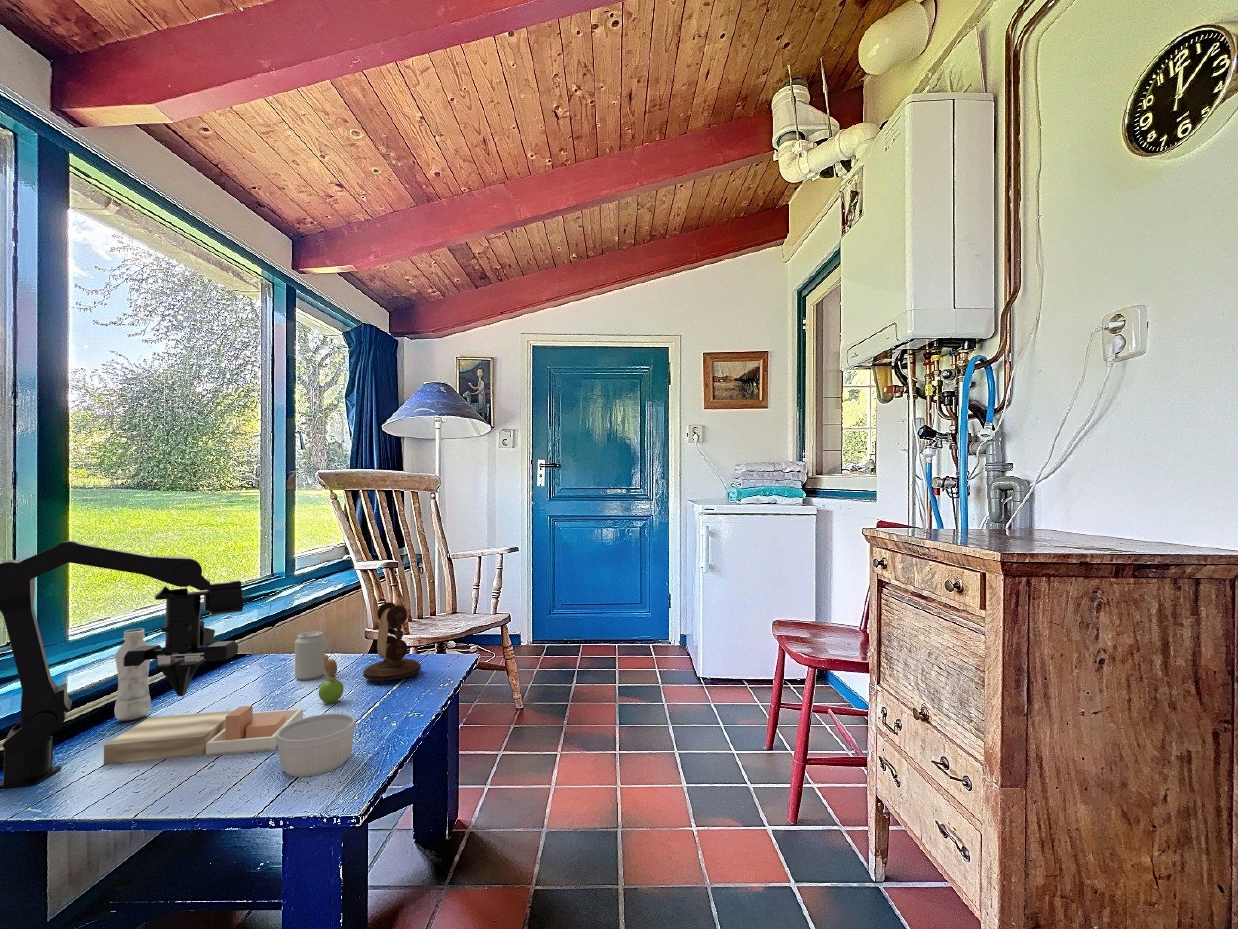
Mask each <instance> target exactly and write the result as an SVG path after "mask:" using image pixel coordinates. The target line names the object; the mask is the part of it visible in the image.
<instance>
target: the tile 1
mask: <svg viewBox="0 0 1238 929" xmlns="http://www.w3.org/2000/svg"><path fill="white" fill-rule="evenodd" d="M253 707H254V705H243V706H241V705H240V706H239V707H237V708H235V709H234V710H232V711H233V712H231V713H230V714H228V715H227V716H226V735H225V740H236V739H245V738H246V727H247V726H248V725H249V724H251V723H252V712H254V711H253Z"/></svg>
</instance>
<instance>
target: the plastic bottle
mask: <svg viewBox="0 0 1238 929" xmlns="http://www.w3.org/2000/svg"><path fill="white" fill-rule="evenodd" d="M145 637H146V635H145V628H133V629H128V630H125V631H123V637H122V640H123V641H124V642H123V644H122V645H121V646H120V647H119V648H118V650H117V651H116V653H115V656H114V657H115V664H116V671H117V684H118V686H117V694H116V700H115V703H114V704H115V705H114V710H113V711H114V717H115V718H116V719H117V721H120V722H121V721H122V722H123V721H125V722H127V721H133V720H137V719H141V718H144V717H146V716H147V715H148V714H149V713H150V711H151V708H152V699H151V695H150V689H149V670H150V665H151V663H150V662H151V660H145V661H144V662H143V663H142V664H141V665H139V666H126V667H124V666H123V658H124V656H125V654H126V653H127V652H128V651H130V650H133V649H135V648H138V647H140V646H150V645H149V644H148V643H147V642H146V641H145V640H144V638H145Z"/></svg>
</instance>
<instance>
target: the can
mask: <svg viewBox="0 0 1238 929" xmlns="http://www.w3.org/2000/svg"><path fill="white" fill-rule="evenodd" d="M323 634H324V632H323V631H308V632H302V633H299V634H298V635H297V639H295V641H294V678H296V679H297V680H300V681H312V680H316V679H319V678H321V677H322V676H323V675H325V672H324V666H323V652H322V651H323V650H324V651H325V650H326V636H324V635H323ZM324 655H326V652H324Z"/></svg>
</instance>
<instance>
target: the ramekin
mask: <svg viewBox="0 0 1238 929" xmlns="http://www.w3.org/2000/svg"><path fill="white" fill-rule="evenodd" d="M356 727H357V726H356V717H354V715H351V714H348V713H342V712H332V713H323V714H322V713H321V714H316V715H312V716H311V715H310V716H307V717H303V719H300V720H297V721H294V722H291V723H289V724H287V725H285V726H284V727H282V728H281V729H280V730H279V731H278V732H277V734H276V742H277V744H278V746H277V747H278V755H279V763H280V766H281V769H282V771H283V772H285V773H286V774H287V775H289V776H291V777H292V776H293V777H297V778H300V777H302V778H303V777H304V778H305V777H312V776H313V777H314V776H318V775H322V774H325V773H328V772H330V771H333V770H335V769H337V768H339V767H341V766H342V765H343V764H345V763H346V762H347V761H348V759H349V758H350V756H351V754H352V752H353V751H352V750H353V744H354V743H353V742H354V733H355V729H356Z"/></svg>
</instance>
